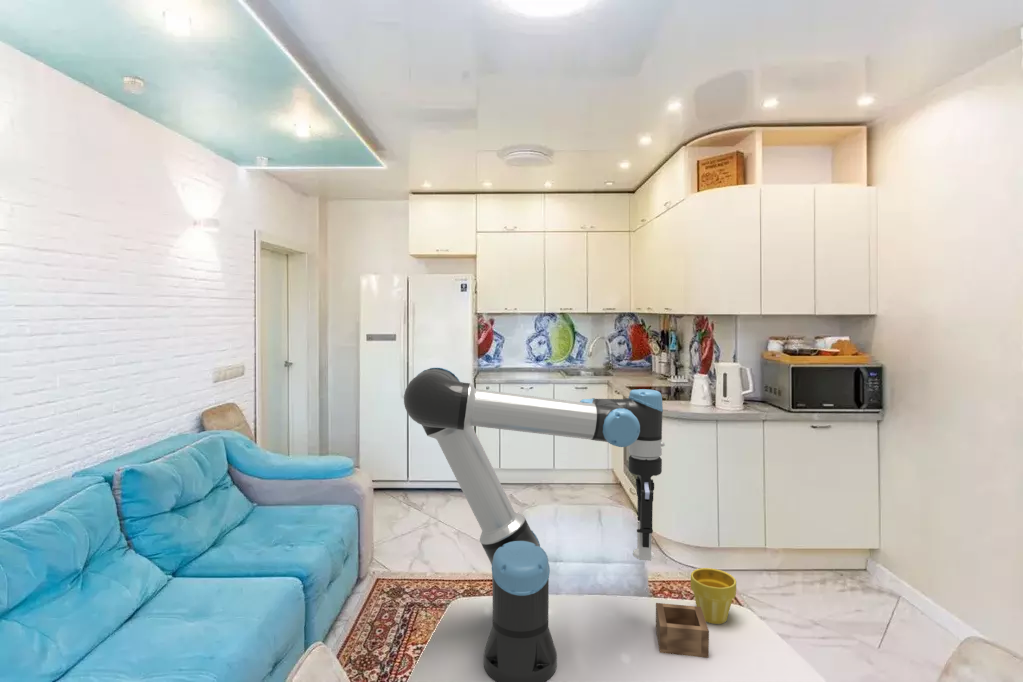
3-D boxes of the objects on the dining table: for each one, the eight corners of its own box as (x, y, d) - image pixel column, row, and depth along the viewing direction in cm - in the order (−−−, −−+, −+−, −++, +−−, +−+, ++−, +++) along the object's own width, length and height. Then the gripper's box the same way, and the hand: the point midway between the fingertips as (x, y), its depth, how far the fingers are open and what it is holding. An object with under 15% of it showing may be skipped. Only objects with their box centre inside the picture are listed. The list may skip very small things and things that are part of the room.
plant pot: (740, 631, 124) (740, 589, 124) (693, 626, 126) (693, 585, 126) (731, 608, 134) (731, 569, 134) (687, 604, 136) (688, 565, 136)
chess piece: (635, 560, 124) (635, 517, 124) (630, 550, 129) (631, 509, 129) (656, 560, 124) (657, 517, 124) (651, 551, 129) (652, 510, 128)
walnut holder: (659, 653, 116) (660, 626, 116) (655, 628, 126) (655, 602, 125) (708, 658, 114) (708, 631, 114) (700, 632, 124) (700, 606, 124)
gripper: (666, 466, 116) (665, 572, 117) (657, 448, 134) (656, 540, 135) (630, 464, 118) (629, 570, 118) (627, 446, 135) (626, 538, 136)
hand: (644, 554), depth 126 cm, fingers closed on chess piece, 5 cm apart
